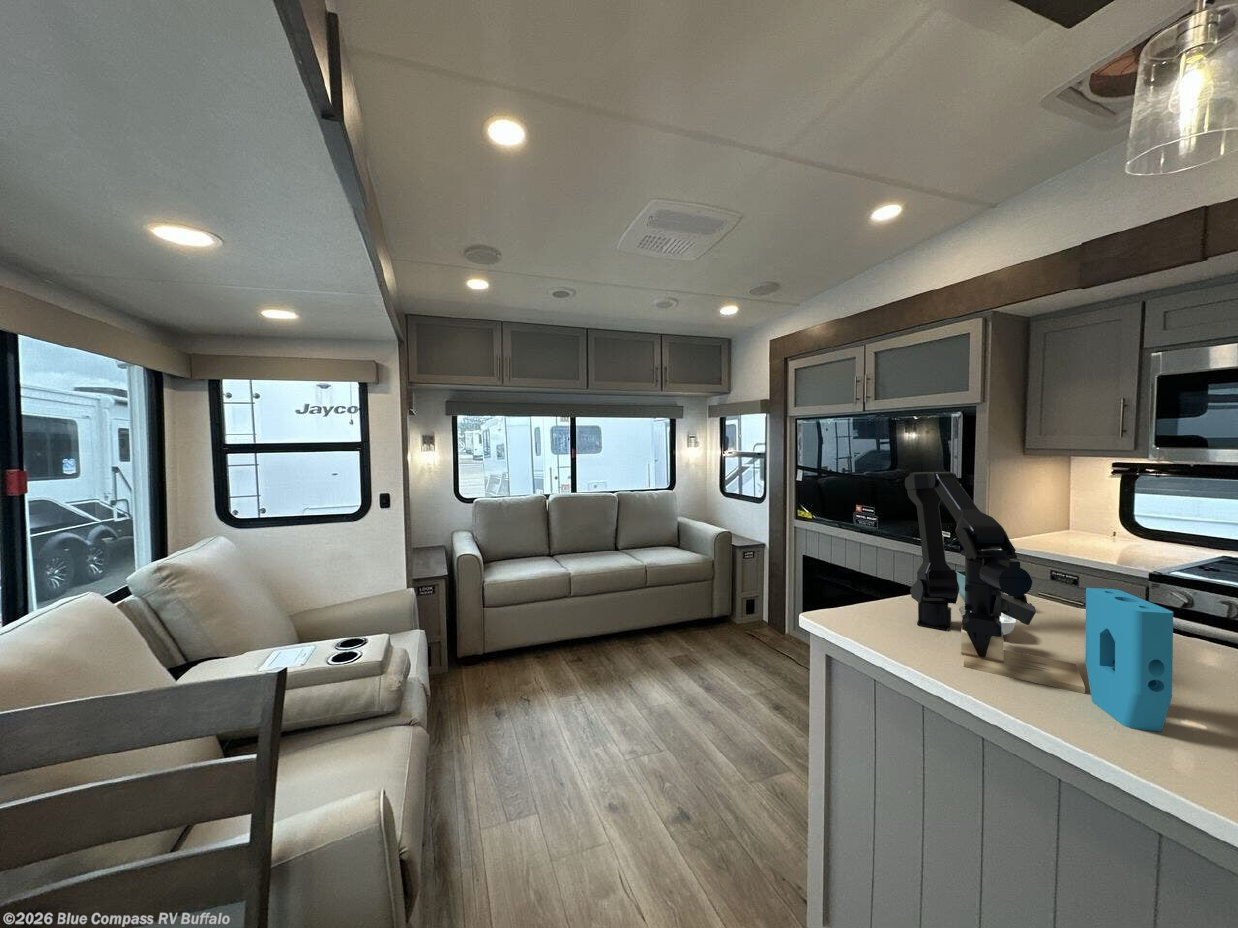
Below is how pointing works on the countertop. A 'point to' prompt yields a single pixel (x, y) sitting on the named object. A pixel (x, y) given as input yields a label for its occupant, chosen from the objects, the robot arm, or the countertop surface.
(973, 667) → the board
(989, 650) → the block
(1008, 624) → the cell model
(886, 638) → the countertop surface
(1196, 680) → the countertop surface
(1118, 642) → the block
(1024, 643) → the countertop surface
